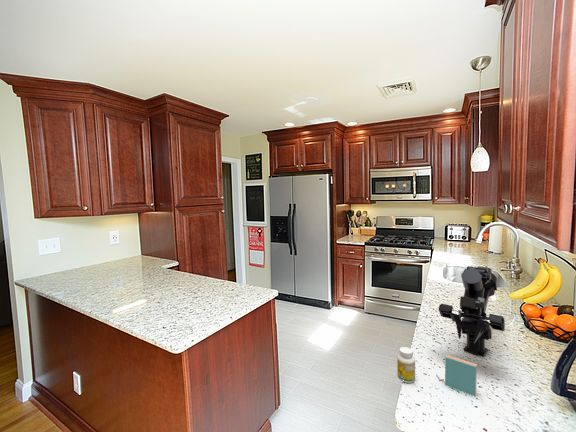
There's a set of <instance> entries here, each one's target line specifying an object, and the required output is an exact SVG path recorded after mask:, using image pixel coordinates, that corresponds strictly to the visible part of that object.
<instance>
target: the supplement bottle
mask: <svg viewBox="0 0 576 432" xmlns="http://www.w3.org/2000/svg"><path fill="white" fill-rule="evenodd" d="M396 358H397V362H396V363H397V370H396V371H397V373H396V374H397V378H398V379H399V381H401V382H403V383H406V384H412V383H414V382H415V381H416V359H415V356H414V351H413V349H412V348H410V347H406V346H401V347H400V348H399V353H398V355H397V357H396ZM403 380H404V381H403Z"/></svg>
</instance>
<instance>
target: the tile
mask: <svg viewBox="0 0 576 432" xmlns="http://www.w3.org/2000/svg"><path fill="white" fill-rule="evenodd" d="M444 366H445V373H444V374H445V377H444V385H445V386H446V387H450V388H453V390H454V389H455V390H457V391H460V392H462V391H463V393H465V392H466V393H465V394H468V395H470V394H471V396H473V395H474V396H473V397H476V396H477V385H478V384H477V378H478V374H477V373H478V364H477V363H474V362H471V361H468V360H464V359H462V358H458V357H455V356H452V355H449V354H446V356H445V360H444Z"/></svg>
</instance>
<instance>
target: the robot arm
mask: <svg viewBox="0 0 576 432" xmlns="http://www.w3.org/2000/svg"><path fill="white" fill-rule="evenodd" d="M492 271H493V270H492V268H491V267H486V266H477V267H476V266H470V265H468V266H467V267H466V268H465V269H464V270H463V271H462V272H461V275H460V277H461V281H462V285H463V288H464V292H463V296H460V298H459V310H458V309H454V307H453V305H450V304H446V303H440V304H439V306H438V308H437V309H438V311H439V314H440V317H442V318H446V319H451V320H452V322H453V323H455V325H456V331H457V336H458V339H459V340H460V339H461V338H462V334H463V335H466V345H465V346H464V348H463V351H465V352H468V353H471V354H474V355H477V356H480V357H485V355H486V354H487V351H488V348H487V347H486V345H485V344H486V341H490V340H491V339H492V338H493V337H492V336H493V335H492V334H493V333H492V330H496V331H499V332H505V330H506V321H505V318H504V316H503V315H498V314H493V313H489V314H488V315H487V313H486V312H487V307H488V303H489V299H490V297H493V296H495V293H496V292H497V291H498V278H497V276H496V275H495V274H494V273H493V272H492Z"/></svg>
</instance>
